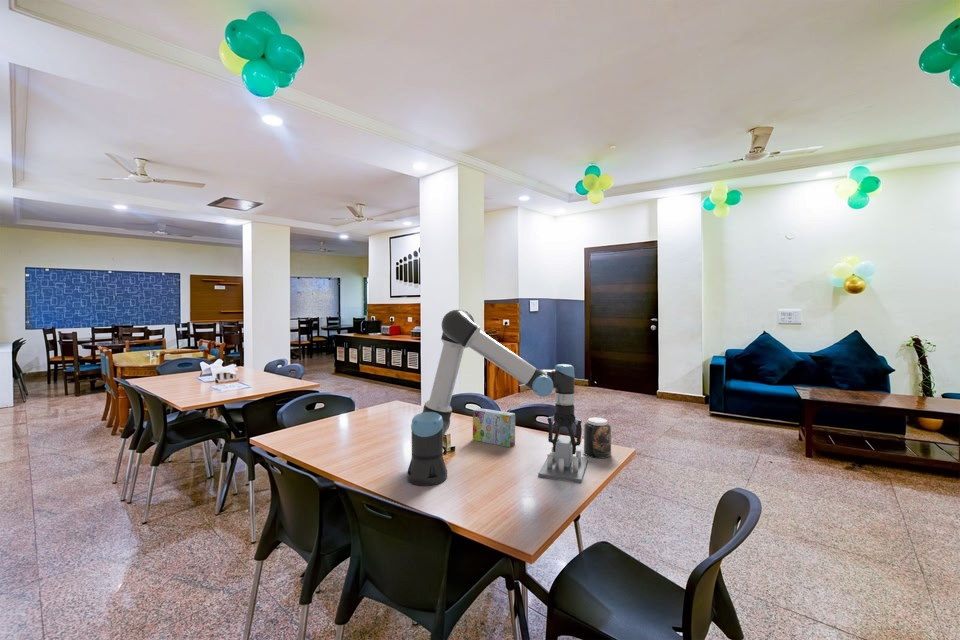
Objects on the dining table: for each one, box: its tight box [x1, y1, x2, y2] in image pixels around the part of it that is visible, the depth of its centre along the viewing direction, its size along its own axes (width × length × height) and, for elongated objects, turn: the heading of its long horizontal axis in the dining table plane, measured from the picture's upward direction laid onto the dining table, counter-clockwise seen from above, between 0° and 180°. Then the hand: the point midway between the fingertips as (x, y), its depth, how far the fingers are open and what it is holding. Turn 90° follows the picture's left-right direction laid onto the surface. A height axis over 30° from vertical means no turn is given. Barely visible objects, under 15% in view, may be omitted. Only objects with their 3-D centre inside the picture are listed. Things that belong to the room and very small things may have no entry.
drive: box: [556, 434, 572, 467], centre depth 160 cm, size 5×10×9 cm, turn 159°
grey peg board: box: [537, 446, 589, 484], centre depth 161 cm, size 16×24×6 cm, turn 159°
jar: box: [583, 416, 612, 459], centre depth 177 cm, size 12×12×15 cm
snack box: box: [472, 407, 516, 448], centre depth 192 cm, size 21×6×15 cm, turn 58°
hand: (564, 460), depth 161 cm, fingers closed on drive, 5 cm apart
